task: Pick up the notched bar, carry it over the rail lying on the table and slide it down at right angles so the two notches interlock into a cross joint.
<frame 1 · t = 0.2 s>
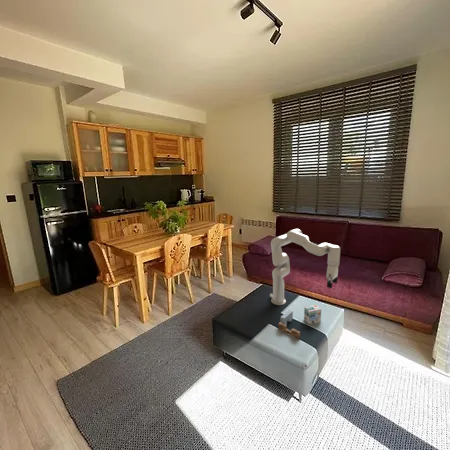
hand: (331, 285, 170), 31 cm above the table, fingers open, 9 cm apart
rail: (288, 333, 167), on the table
light bulb box: (312, 320, 181), on the table
bar: (286, 322, 180), on the table
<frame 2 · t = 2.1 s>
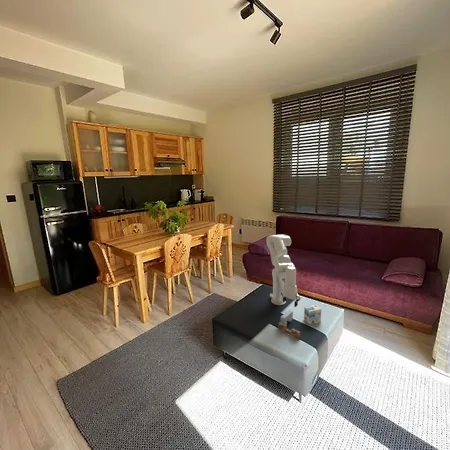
hand: (290, 303, 179), 14 cm above the table, fingers open, 9 cm apart
nothing on the table moved.
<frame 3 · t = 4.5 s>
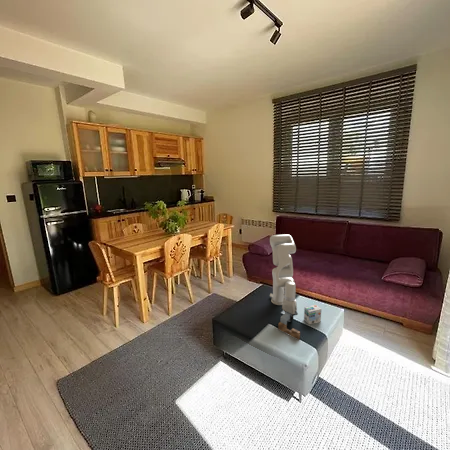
hand: (289, 319, 182), 1 cm above the table, fingers closed on bar, 3 cm apart
bar: (286, 322, 180), on the table, touching gripper
everything else where it was.
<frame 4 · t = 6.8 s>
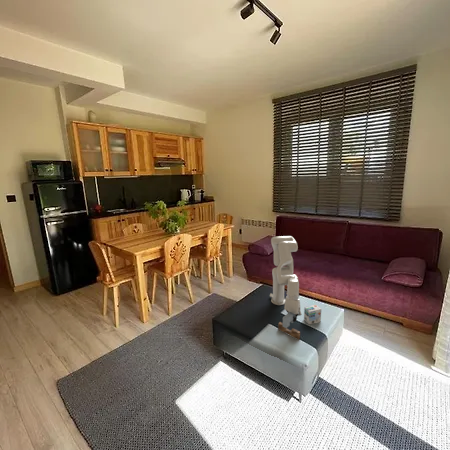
hand: (292, 319, 167), 9 cm above the table, fingers closed on bar, 3 cm apart
bar: (289, 323, 165), point 8 cm above the table, touching gripper
everything else where it was.
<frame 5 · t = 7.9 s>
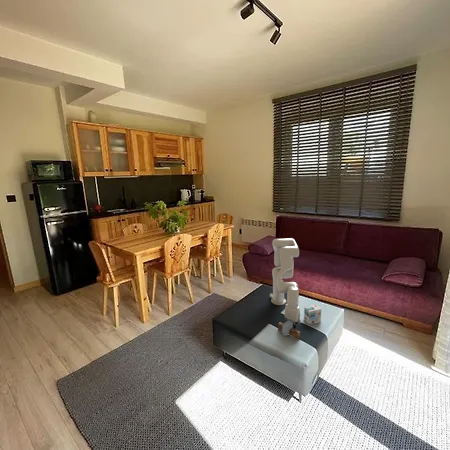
hand: (292, 327, 169), 3 cm above the table, fingers closed on bar, 3 cm apart
bar: (288, 330, 167), point 2 cm above the table, touching gripper
everything else where it was.
when the fingers open (2 cm above the table, at t = 9.1 s): bar drops 1 cm, on the table.
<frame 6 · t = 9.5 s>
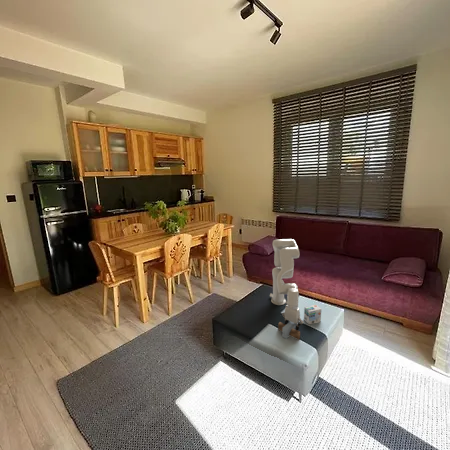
hand: (291, 327, 169), 3 cm above the table, fingers open, 7 cm apart
bar: (288, 333, 167), on the table
everything else where it was.
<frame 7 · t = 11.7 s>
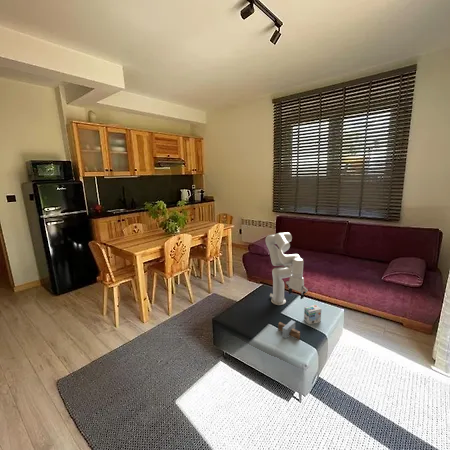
hand: (295, 295, 175), 22 cm above the table, fingers open, 9 cm apart
nothing on the table moved.
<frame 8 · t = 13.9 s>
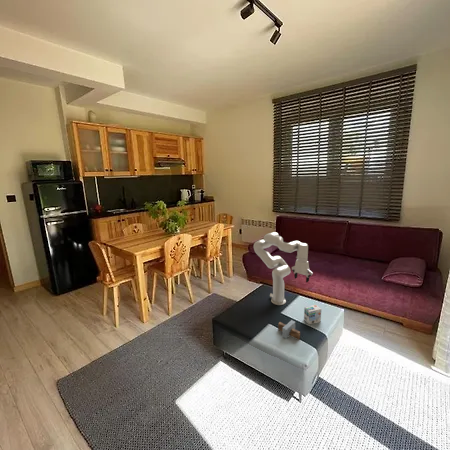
hand: (301, 279, 186), 28 cm above the table, fingers open, 9 cm apart
nothing on the table moved.
at the end: bar 0.2 cm off-centre on the rail, point 0.0 cm above the rail's base; bar tilted 0°; the gripper is holding nothing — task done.
